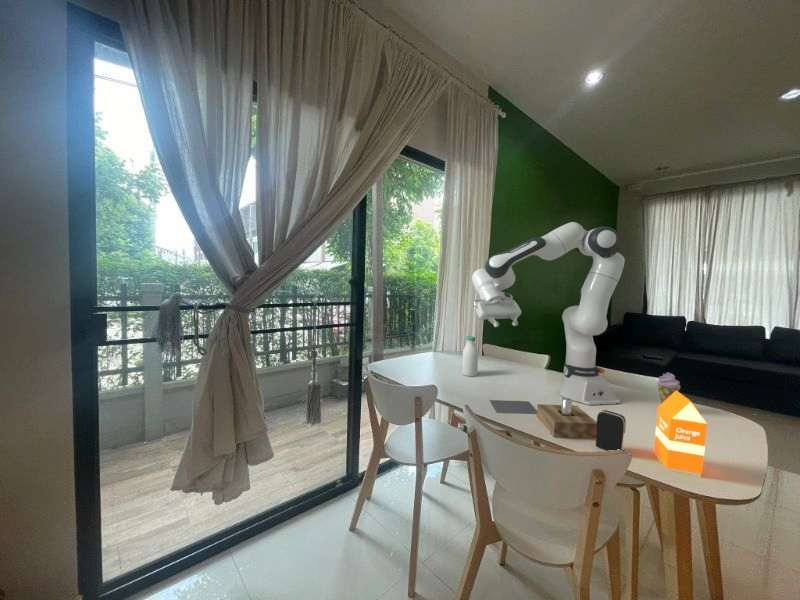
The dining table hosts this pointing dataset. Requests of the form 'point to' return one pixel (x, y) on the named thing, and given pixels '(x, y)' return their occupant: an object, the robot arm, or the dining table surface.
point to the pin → (566, 407)
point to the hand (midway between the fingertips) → (506, 325)
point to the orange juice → (680, 434)
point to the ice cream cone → (667, 386)
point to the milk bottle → (470, 358)
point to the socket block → (567, 422)
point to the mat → (513, 407)
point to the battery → (610, 430)
